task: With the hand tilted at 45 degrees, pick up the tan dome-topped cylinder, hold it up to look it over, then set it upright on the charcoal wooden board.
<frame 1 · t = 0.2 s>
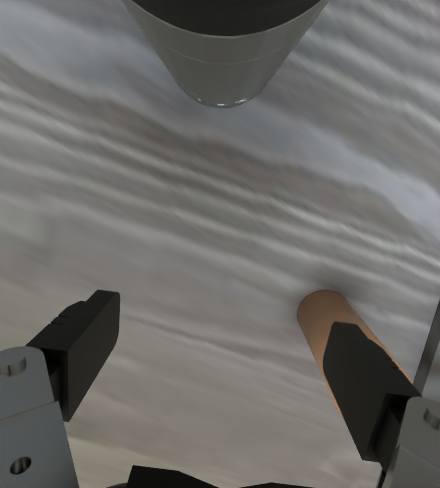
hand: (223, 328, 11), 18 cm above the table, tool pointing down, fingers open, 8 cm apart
tan dome-topped cylinder: (322, 313, 32), on the table
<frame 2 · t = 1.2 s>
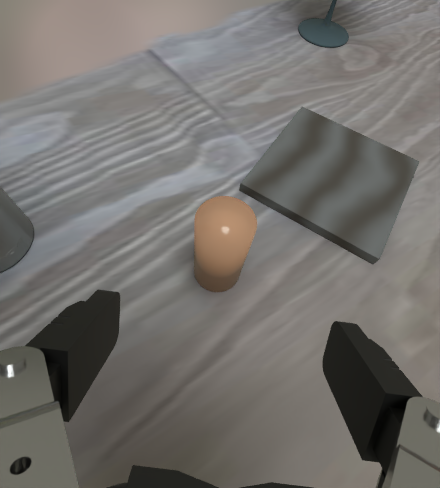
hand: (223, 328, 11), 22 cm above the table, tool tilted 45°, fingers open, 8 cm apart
charcoal board: (330, 178, 44), on the table
cocktail glass: (322, 34, 64), on the table
tan dome-topped cylinder: (217, 270, 36), on the table
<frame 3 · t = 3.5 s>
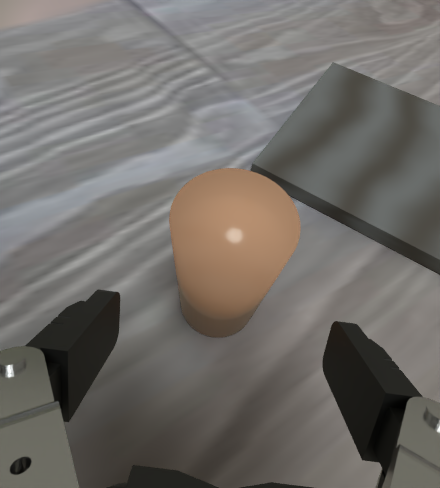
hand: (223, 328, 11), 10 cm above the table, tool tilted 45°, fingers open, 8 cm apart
charcoal board: (381, 158, 31), on the table
tan dome-topped cylinder: (217, 299, 22), on the table
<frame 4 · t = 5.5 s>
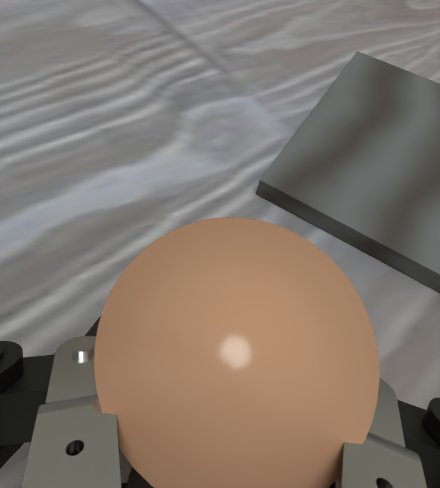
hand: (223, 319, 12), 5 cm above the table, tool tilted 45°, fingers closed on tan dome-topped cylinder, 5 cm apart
charcoal board: (423, 171, 24), on the table
tan dome-topped cylinder: (211, 378, 15), on the table, touching gripper
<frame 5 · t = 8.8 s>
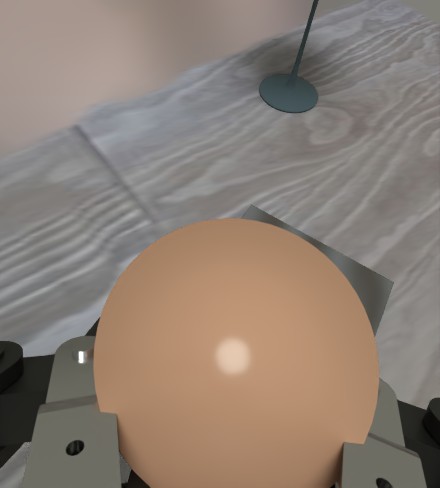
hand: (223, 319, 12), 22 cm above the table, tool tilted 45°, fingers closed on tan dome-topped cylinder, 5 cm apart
charcoal board: (281, 308, 35), on the table
cocktail glass: (288, 94, 55), on the table
tan dome-topped cylinder: (211, 379, 15), point 17 cm above the table, touching gripper
when the fingers open (8 cm above the table, at t = 13.7 s): tan dome-topped cylinder drops 1 cm, resting on charcoal board.
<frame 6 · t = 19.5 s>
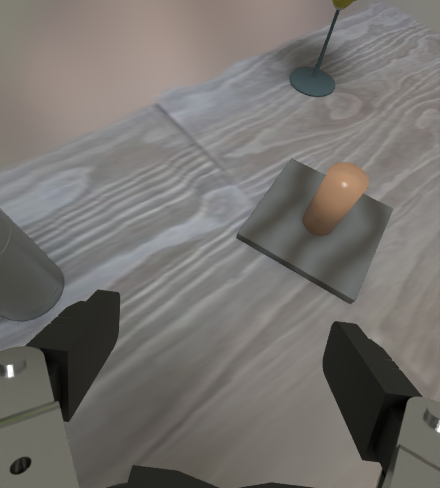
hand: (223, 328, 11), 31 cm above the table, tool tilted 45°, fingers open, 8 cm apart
charcoal board: (316, 225, 51), on the table
cocktail glass: (311, 83, 71), on the table
tan dome-topped cylinder: (318, 221, 49), point 2 cm above the table, touching charcoal board
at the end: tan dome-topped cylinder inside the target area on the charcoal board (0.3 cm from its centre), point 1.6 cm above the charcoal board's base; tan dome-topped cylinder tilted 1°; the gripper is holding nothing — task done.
